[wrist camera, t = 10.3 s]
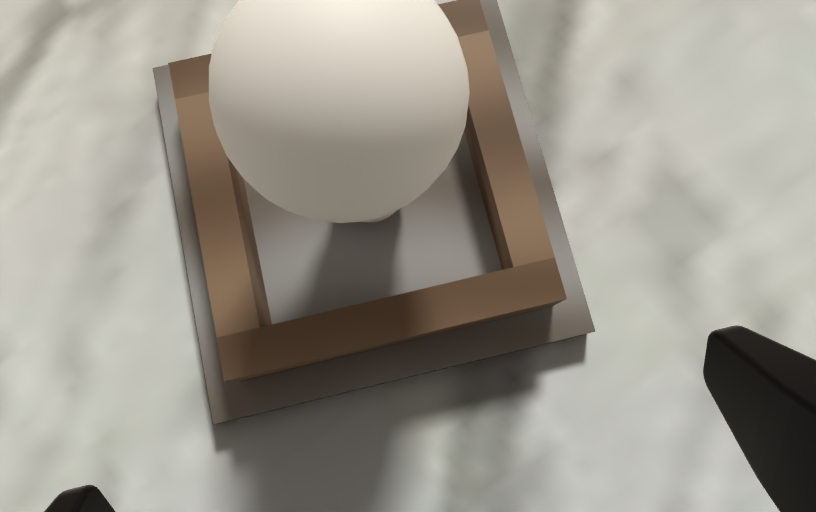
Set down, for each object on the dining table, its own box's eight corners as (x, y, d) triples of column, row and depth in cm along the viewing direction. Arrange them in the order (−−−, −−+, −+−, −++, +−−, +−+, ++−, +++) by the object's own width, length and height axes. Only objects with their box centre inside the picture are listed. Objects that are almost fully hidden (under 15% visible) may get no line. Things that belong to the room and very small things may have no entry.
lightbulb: (366, 312, 22) (302, 242, 11) (256, 192, 23) (99, 20, 12) (491, 198, 22) (545, 24, 12) (378, 86, 23) (332, -167, 13)
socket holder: (587, 333, 23) (613, 326, 20) (221, 422, 22) (192, 428, 19) (491, 8, 25) (502, -40, 22) (162, 80, 25) (129, 40, 22)
